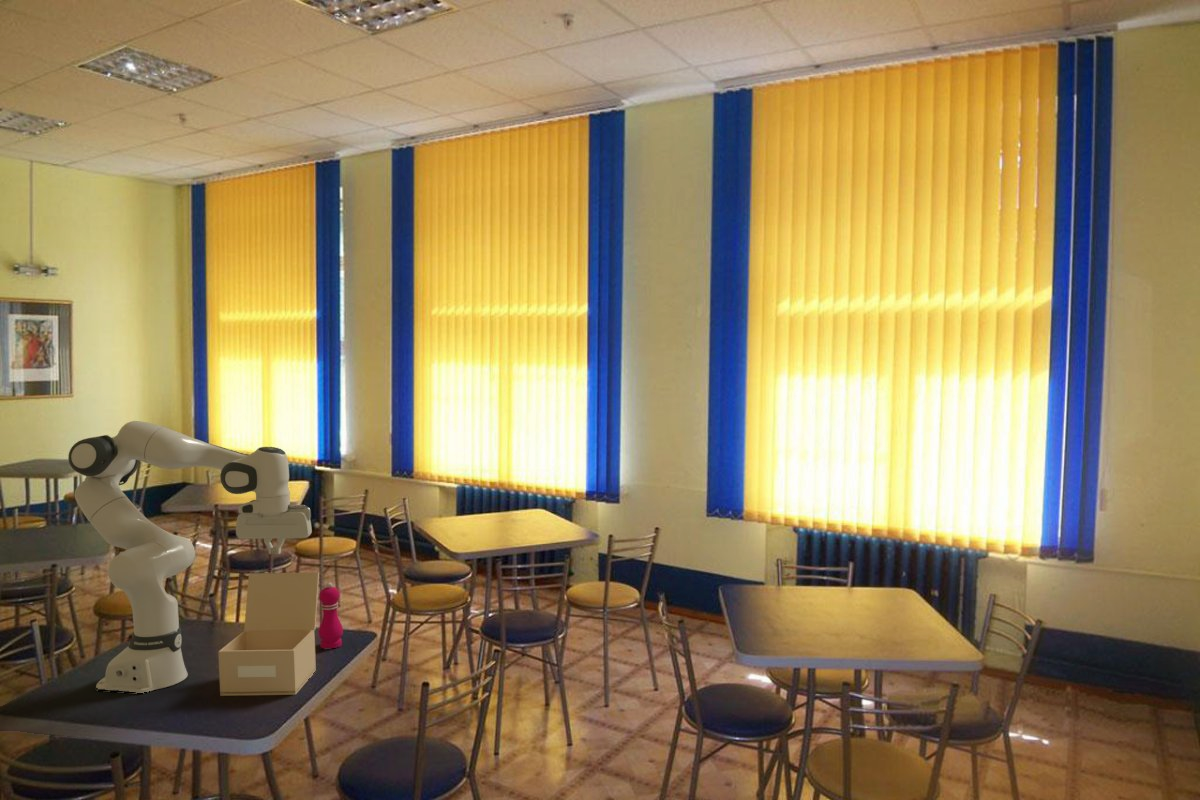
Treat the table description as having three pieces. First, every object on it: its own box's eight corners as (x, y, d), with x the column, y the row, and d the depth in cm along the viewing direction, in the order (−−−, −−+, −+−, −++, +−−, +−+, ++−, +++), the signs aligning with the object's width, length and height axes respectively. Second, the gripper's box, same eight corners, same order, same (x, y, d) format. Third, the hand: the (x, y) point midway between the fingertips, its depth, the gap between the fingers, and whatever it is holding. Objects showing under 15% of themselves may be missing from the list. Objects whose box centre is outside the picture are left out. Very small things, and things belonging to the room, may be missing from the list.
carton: (219, 696, 222) (218, 651, 221) (245, 672, 238) (243, 630, 237) (295, 694, 222) (293, 650, 221) (315, 671, 238) (314, 629, 237)
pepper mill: (336, 651, 254) (333, 586, 252) (314, 649, 255) (311, 585, 254) (347, 642, 261) (345, 579, 259) (326, 641, 262) (324, 578, 261)
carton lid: (248, 573, 241) (250, 573, 242) (244, 630, 237) (245, 630, 238) (318, 572, 241) (319, 572, 242) (314, 629, 237) (315, 629, 238)
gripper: (314, 502, 237) (315, 550, 238) (242, 503, 237) (243, 551, 238) (306, 506, 231) (308, 556, 232) (232, 507, 231) (234, 556, 232)
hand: (275, 553), depth 235 cm, fingers closed
